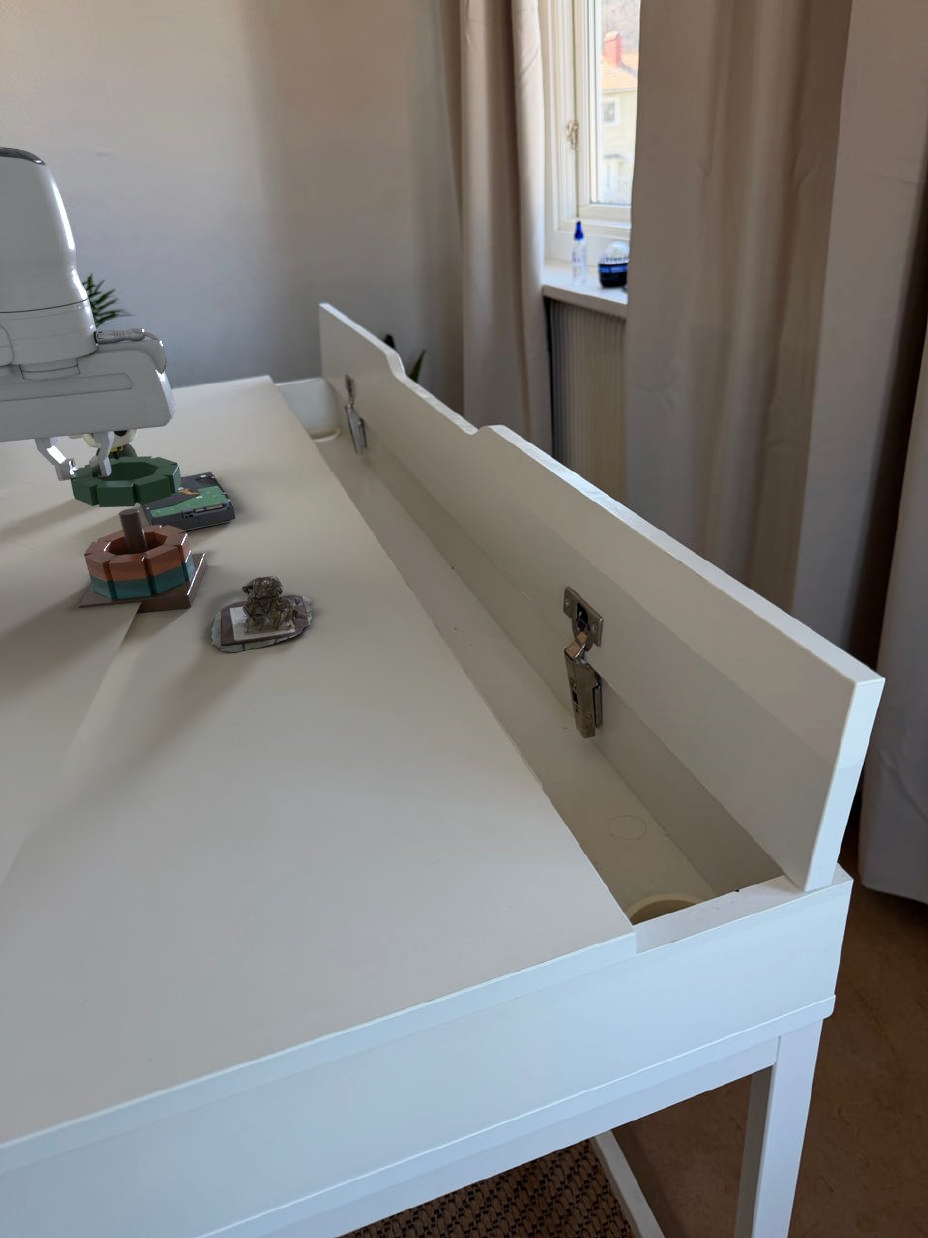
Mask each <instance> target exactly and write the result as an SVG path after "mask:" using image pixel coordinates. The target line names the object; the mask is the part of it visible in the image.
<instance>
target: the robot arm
mask: <svg viewBox="0 0 928 1238" xmlns="http://www.w3.org/2000/svg"><path fill="white" fill-rule="evenodd" d="M70 223H71V222H70V220H69V216H68V213H67V210H66V206H65V203H64V201H63V197H62V194H61V192H60V189H59V187H58V183H57V181H56V179H55V177H54V175H53V173H52V171H51V169H50V168H49V166H48V164H46V162H45V161H44V160H42V159H41V158H40V157H39V156H37V155H36V154H34V153H33V152H30V151H27V150H24V149H19V148H13V147H5V146H0V443H8V442H19V441H29V440H34V442H35V446H36V449H37V451H38V452H39V453H40V454H41V455H42V456H43V457H44V458H45V459H46V460H47V461H48V462H49V463H50V464H51V465H52V466H54V469H55V473H56V476H57V480H58V481H59V482H62V481H71V480H70V478H71V476H72V475H73V474H74V473H75V472H76V471H77V470H78V468H77V467H75V466H76V461H75V458H74V457H73V458H66V457H65V456H64V455H63V454H62V453H61V451H60V450H59V449H58V448H57V447H56V446H55V445H56V444H57V443H58V437H59V438H60V437H68V436H71V435H81V434H91V433H93V436H94V440H95V443H96V444H99V443H102V445H101V448H100V451H99V455H98V456H96V455H93V456H92V457H91V459H89V460H88V464H89V465H90V468H91V469H92V475H93V477H104V476H109V475H110V474H111V466H110V462H109V458H108V455H109V453H110V450H111V447H112V444H113V441H114V438H115V435H114V431H122V430H132V429H137V430H142V429H151V428H152V429H153V428H161V427H166V426H167V425H168V424H169V423H170V422H171V421H172V419H173V418H174V416H175V414H176V412H177V405H176V401H175V397H174V393H173V390H172V387H171V384H170V382H169V379H168V376H167V374H166V373H167V372H166V368H167V366H168V365H167V357H166V352H165V346H164V344H163V341H161V339H160V338H159V337H158V336H156V335H155V334H153V333H152V332H148V331H145V329H144V328H142V327H141V328H139V327H136V328H135V327H134V328H129V329H125V330H124V329H123V330H117V329H116V330H115V329H113V330H111V329H110V330H99V331H97V327H96V323H95V319H94V315H93V310H92V306H91V303H90V299H89V295H88V292H87V289H86V288H85V287H84V285H83V283H82V281H81V279H80V276H79V272H78V267H77V246H76V242H75V238H74V233H73V230H72V226H71V224H70ZM146 337H147V338H146Z"/></svg>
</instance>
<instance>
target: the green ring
mask: <svg viewBox="0 0 928 1238" xmlns="http://www.w3.org/2000/svg"><path fill="white" fill-rule="evenodd" d="M109 462H110V466H111V474H110V475H109V476H104V477H93V475H92V469H91V468H90V465H89V463H88V464H85V465H84V467H79V468H77V471H76V472H75V473H74V474H73V475H72V476H71V478H70V480H69V481H70V484H71V489H72V495H73V497H74V500H76V501H79V502H81V503H84V504H86V505H89V506H91V507H95V506H99V508H119V507H120V508H121V507H122V508H123V507H135V506H136V504H139V505H140V504H142V505H144V504H147V503H150V502H154V501H157V500H160V499H164V498H167V497H170V496H171V494H176V492H177V490H178V488H179V487H180V485H181V477H182V476H181V470H180V465H179V464H178V462H176V461H173V460H169V459H166V458H164V457H161V456H156V457H153V456H152V455H147V456H138V457H120V458H119V460H116V459H113V458H112V459H109Z"/></svg>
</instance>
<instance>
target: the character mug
mask: <svg viewBox="0 0 928 1238" xmlns="http://www.w3.org/2000/svg"><path fill="white" fill-rule="evenodd" d="M138 432H139V431H138V429H132V430H122V431H114V435H115V438H114V441H113V444H112V447H111V450H110V453H109V455H108V458H109V459H112V458H113V459H116V460H119V458H120V457H139V455H138V454H137V452H136V450H135V448H134V447H133V445H132V444H130V443H131V442H134V441H135V440H136V439H137V438H138ZM67 437H68V438H69V439H71V440H78V439H82V438H83V441H84V442H85V443H86V445H87V446H88V447H90V448H96V451H95V456H98V455H99V451H100V448H101V445H102V443H99V444H96V443H95V440H94V436H93V433H91V434H81V435H71V436H67Z"/></svg>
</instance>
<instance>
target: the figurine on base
mask: <svg viewBox="0 0 928 1238" xmlns="http://www.w3.org/2000/svg"><path fill="white" fill-rule="evenodd" d="M241 590H242V592H243V593H244V594H245V595H246V596H247V599H243V600H239V601H235V602H232V603H231V604H229V605H226V606H224V607H222V608H221V609H220V611H218V612H217V613H216V615H215V616H214V617H215V618H214V621H213V624H212V627H211V628H210V630H211V636H210V638H211V640H212V642H211V645H213V646H215V647H216V648H218V650H219V651H222V652H229V653H236V652H237V653H238V652H243V651H247V650H251V649H259V648H264V647H267V646H268V647H269V646H271V645H275V644H276V643H277V644H278V643H279V642H282V641H285V640H288V639H291V638H293V637H296V636H298V635H300V634H302V633H303V630H304V628H306V627H309V626H311V625H312V623H311V620H312V619H313V616H312V614H313V610H312V609H313V608H312V607H311V603H312V602H313V599H312V598H310V597H307V596H305V595H297V594H290V593H289V594H283V593H284V585H283V582H282V580H281V579H280V578H279V577H278V576H276V575H267V576H256V577H254V578H253V579H251V580H250V581H249V582H247V583H246V584H244V585H243V586H241ZM282 594H283V595H282Z"/></svg>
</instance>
